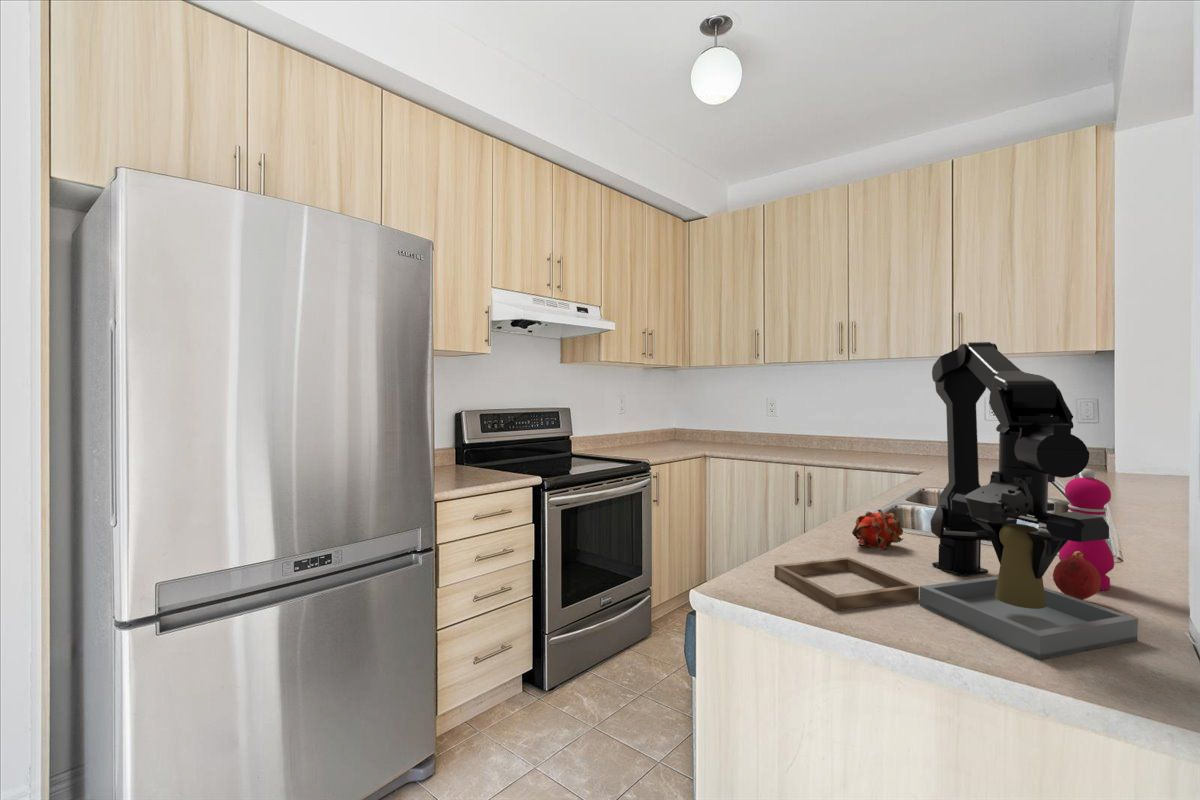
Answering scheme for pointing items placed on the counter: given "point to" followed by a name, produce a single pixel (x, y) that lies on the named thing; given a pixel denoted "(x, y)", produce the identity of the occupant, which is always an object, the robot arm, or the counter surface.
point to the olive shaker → (1018, 569)
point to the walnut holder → (893, 593)
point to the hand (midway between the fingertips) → (1020, 572)
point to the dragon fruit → (877, 530)
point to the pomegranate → (1077, 577)
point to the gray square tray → (1030, 618)
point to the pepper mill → (1090, 500)
